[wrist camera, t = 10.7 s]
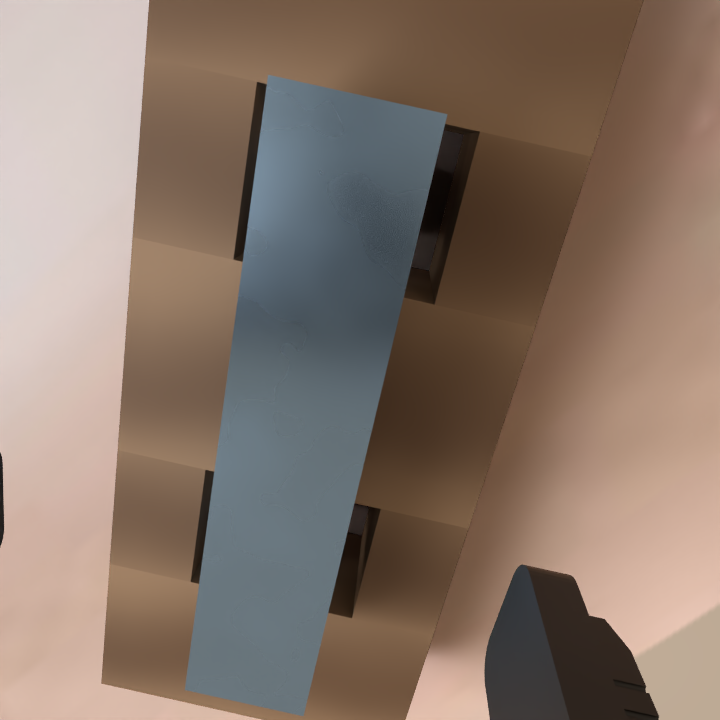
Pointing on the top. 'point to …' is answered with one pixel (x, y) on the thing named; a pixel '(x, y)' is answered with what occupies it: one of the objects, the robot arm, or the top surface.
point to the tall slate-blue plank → (304, 378)
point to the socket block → (415, 324)
